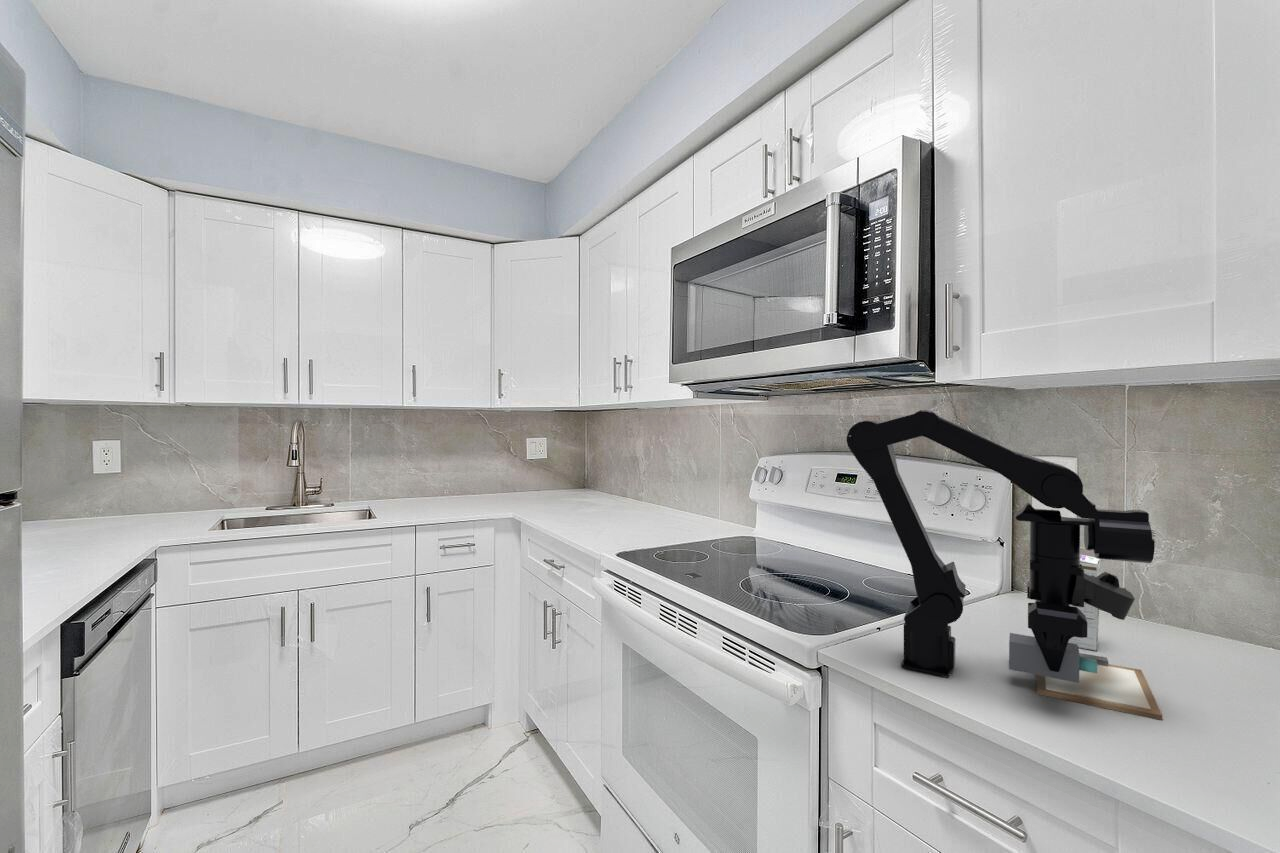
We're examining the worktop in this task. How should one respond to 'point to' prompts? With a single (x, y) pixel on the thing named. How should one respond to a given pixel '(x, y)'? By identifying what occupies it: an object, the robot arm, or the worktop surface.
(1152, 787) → the worktop surface
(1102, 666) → the clipboard
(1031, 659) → the gray block
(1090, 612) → the syrup box
